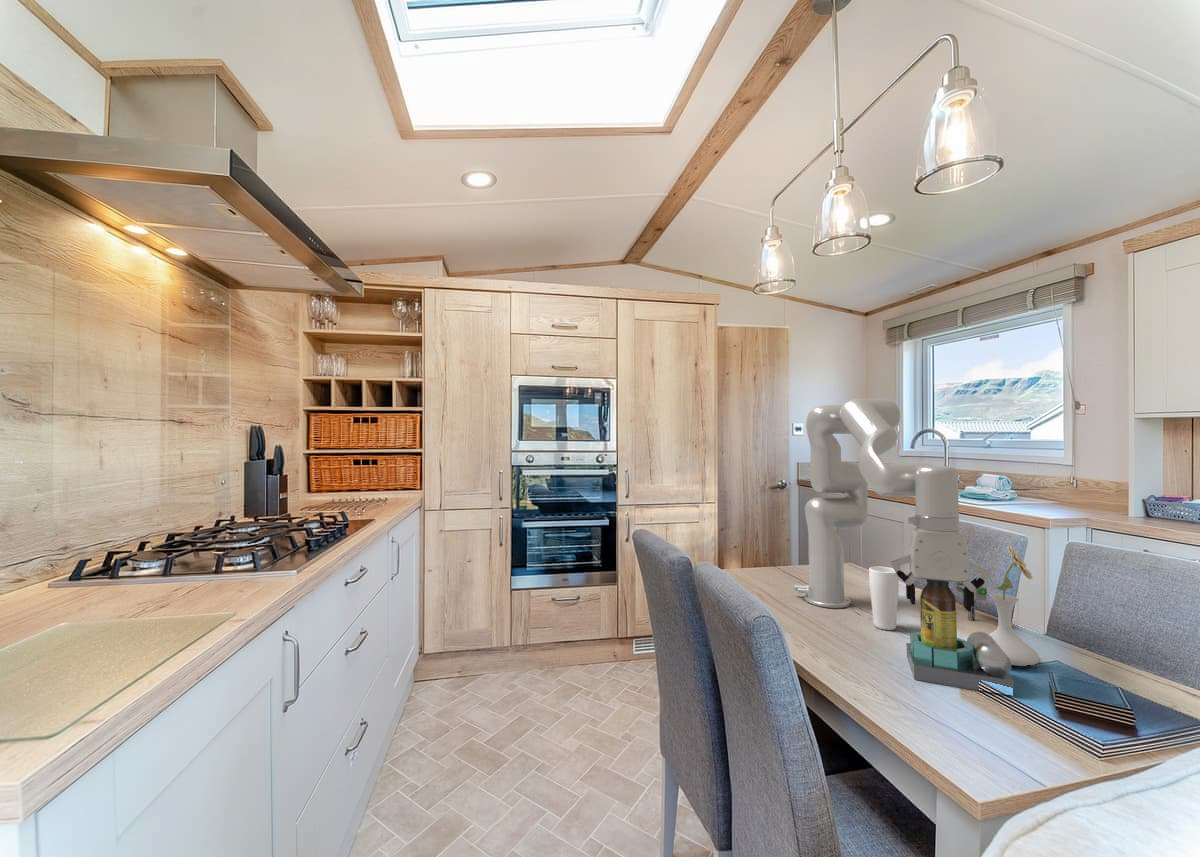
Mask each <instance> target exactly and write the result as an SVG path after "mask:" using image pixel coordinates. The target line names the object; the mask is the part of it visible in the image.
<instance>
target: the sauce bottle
mask: <svg viewBox="0 0 1200 857" xmlns="http://www.w3.org/2000/svg"><path fill="white" fill-rule="evenodd" d="M949 583H950V582H948V581H938V580H928V579H926V585H925V586H924V587H923V589H922V590H921V595H920V598H919V599H920V600H919V601H920V632H921V642H923V643H926V644H928V645H931V646H933V647H938V648H945V649H952V650H956V649H957V638H958V631H957V630H958V629H957V627H958V626H957V624H958V622H957V608H956V602H957V601H956V600H957V599H956V596H955V594H954V593H953V591H952V590H951V588H950V586H949V585H950V584H949Z"/></svg>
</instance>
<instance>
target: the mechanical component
mask: <svg viewBox="0 0 1200 857" xmlns="http://www.w3.org/2000/svg"><path fill="white" fill-rule="evenodd" d="M964 588H965V585H964V584H963V583H962V582H955V591H956V592H957V593H958V594H959V595H961V596H963V589H964ZM987 590H988V588H987V587H986V586H984V585H982V586H981V587H979V588H978V589H976V591H975V592H974V607H973V606H971V611H967V620H968V619H969V620H968V621H976V608H975V607H976V605H977V604H978V602H977V601H987V595H988V591H987ZM973 619H974V620H973Z"/></svg>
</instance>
